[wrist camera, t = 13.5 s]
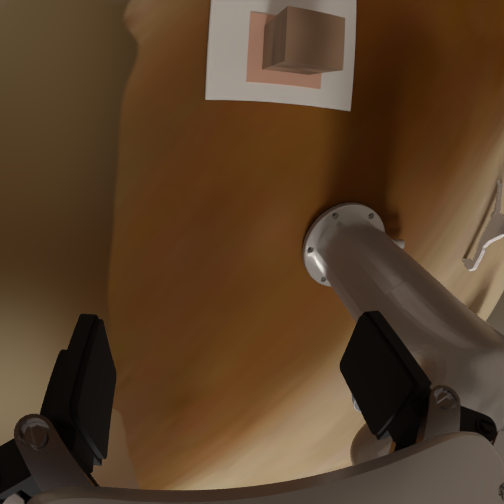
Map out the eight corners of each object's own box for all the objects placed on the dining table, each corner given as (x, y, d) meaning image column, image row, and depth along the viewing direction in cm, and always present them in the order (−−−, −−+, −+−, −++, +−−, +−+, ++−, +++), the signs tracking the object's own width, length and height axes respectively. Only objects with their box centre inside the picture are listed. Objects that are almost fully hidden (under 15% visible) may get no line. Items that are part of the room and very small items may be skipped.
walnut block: (310, 33, 25) (345, 18, 18) (308, 74, 28) (342, 70, 21) (264, 26, 24) (287, 5, 17) (262, 69, 27) (284, 60, 20)
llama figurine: (471, 180, 48) (459, 268, 49) (516, 178, 37) (506, 277, 38) (475, 183, 49) (463, 269, 49) (519, 182, 38) (509, 278, 38)
